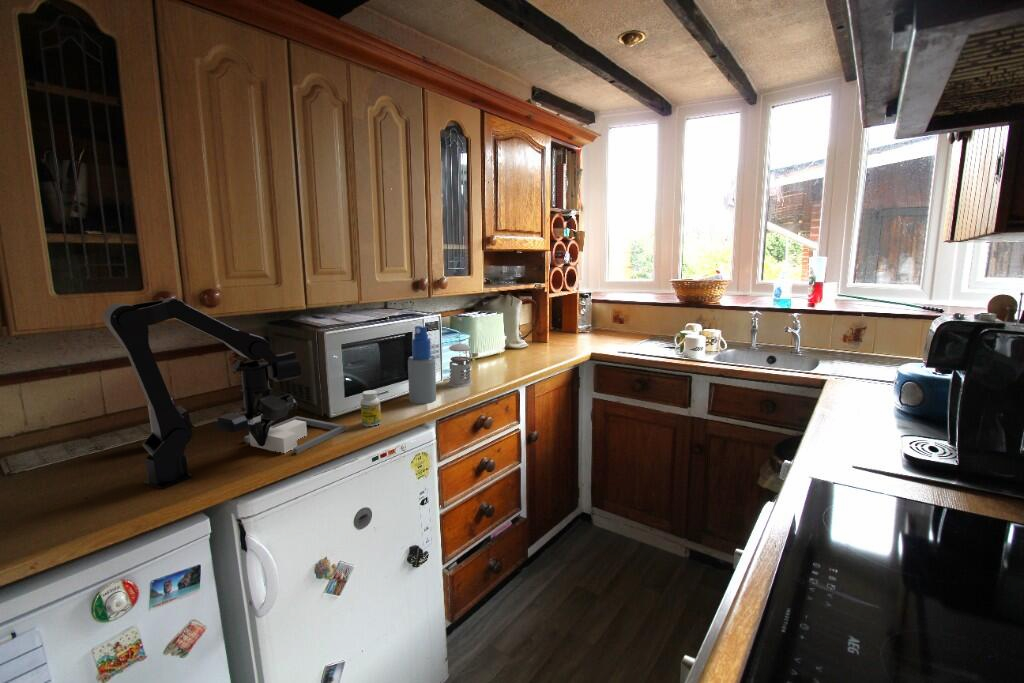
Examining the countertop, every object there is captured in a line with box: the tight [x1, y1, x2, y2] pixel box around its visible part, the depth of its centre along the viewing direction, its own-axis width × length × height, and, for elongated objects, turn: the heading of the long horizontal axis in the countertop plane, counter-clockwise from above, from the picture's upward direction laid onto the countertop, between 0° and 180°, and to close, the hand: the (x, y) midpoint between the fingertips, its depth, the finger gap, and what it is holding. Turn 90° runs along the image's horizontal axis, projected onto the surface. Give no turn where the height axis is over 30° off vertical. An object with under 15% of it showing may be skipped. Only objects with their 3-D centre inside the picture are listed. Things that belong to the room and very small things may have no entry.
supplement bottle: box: [360, 389, 382, 427], centre depth 140 cm, size 5×5×10 cm
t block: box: [248, 420, 308, 454], centre depth 128 cm, size 11×12×4 cm
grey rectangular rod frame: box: [243, 415, 347, 454], centre depth 131 cm, size 17×18×2 cm
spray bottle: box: [407, 325, 437, 405], centre depth 161 cm, size 9×9×25 cm
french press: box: [446, 317, 474, 388], centre depth 181 cm, size 10×12×25 cm
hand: (261, 445), depth 121 cm, fingers closed
